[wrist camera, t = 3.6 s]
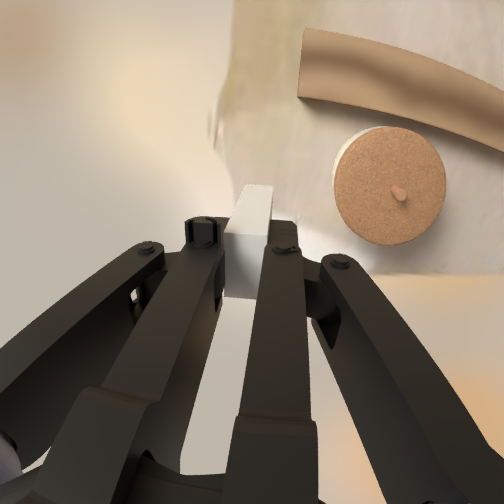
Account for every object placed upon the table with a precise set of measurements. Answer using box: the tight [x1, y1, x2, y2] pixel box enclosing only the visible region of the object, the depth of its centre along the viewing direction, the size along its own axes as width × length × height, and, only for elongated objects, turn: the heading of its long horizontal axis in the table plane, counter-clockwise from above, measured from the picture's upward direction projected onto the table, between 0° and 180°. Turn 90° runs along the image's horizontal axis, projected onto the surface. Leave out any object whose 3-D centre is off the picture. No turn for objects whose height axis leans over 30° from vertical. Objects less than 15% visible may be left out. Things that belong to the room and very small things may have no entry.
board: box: [297, 28, 504, 153], centre depth 24 cm, size 7×32×3 cm, turn 85°
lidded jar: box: [332, 126, 446, 245], centre depth 26 cm, size 11×11×9 cm
